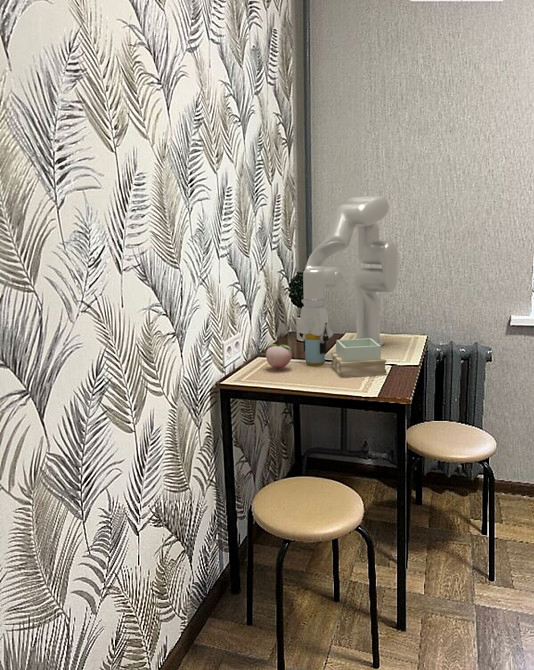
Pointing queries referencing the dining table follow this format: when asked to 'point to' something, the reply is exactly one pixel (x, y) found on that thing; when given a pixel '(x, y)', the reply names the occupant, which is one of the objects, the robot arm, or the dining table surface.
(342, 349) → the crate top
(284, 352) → the decorative fruit
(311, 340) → the bottle
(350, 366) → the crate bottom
